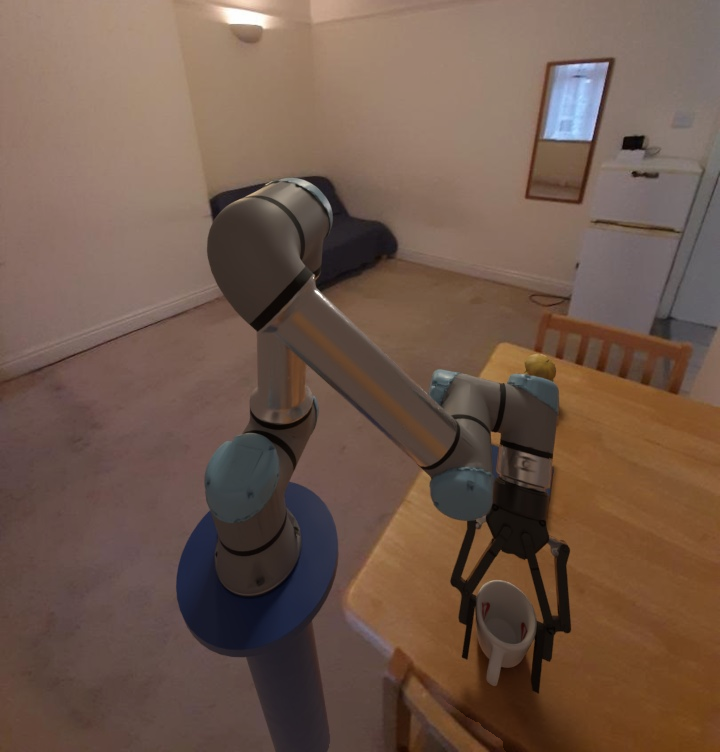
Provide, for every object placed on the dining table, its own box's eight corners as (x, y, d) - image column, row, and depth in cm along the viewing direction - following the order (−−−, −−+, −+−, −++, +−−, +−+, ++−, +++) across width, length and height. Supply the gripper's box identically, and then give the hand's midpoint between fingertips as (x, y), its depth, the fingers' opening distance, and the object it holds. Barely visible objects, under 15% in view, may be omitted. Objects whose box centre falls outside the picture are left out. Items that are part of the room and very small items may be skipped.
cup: (519, 719, 51) (528, 691, 48) (458, 678, 55) (462, 649, 51) (533, 627, 59) (541, 598, 56) (479, 597, 63) (483, 568, 60)
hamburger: (535, 379, 108) (542, 342, 103) (557, 396, 102) (566, 357, 97) (513, 388, 105) (520, 350, 100) (535, 406, 99) (543, 367, 94)
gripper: (448, 463, 60) (416, 645, 53) (609, 512, 52) (595, 731, 46) (452, 459, 66) (425, 621, 60) (596, 503, 59) (582, 693, 52)
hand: (498, 669), depth 53 cm, fingers closed on cup, 8 cm apart
